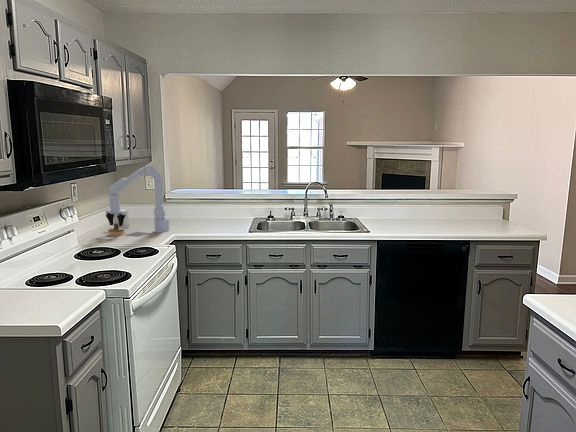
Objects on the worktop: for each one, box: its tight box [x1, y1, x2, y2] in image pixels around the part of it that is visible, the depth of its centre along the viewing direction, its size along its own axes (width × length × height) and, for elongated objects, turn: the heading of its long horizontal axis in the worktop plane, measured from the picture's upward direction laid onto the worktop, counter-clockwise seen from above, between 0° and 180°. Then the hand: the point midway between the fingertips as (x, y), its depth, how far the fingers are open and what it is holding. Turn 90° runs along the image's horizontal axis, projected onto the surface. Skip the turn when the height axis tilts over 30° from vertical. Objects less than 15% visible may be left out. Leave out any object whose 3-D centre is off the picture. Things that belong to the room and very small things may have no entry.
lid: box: [107, 222, 125, 233], centre depth 284 cm, size 10×10×4 cm
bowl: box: [108, 230, 126, 237], centre depth 284 cm, size 9×9×3 cm
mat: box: [125, 231, 150, 238], centre depth 284 cm, size 11×11×1 cm
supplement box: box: [113, 209, 130, 230], centre depth 305 cm, size 7×7×13 cm
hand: (116, 225), depth 284 cm, fingers open, 7 cm apart
